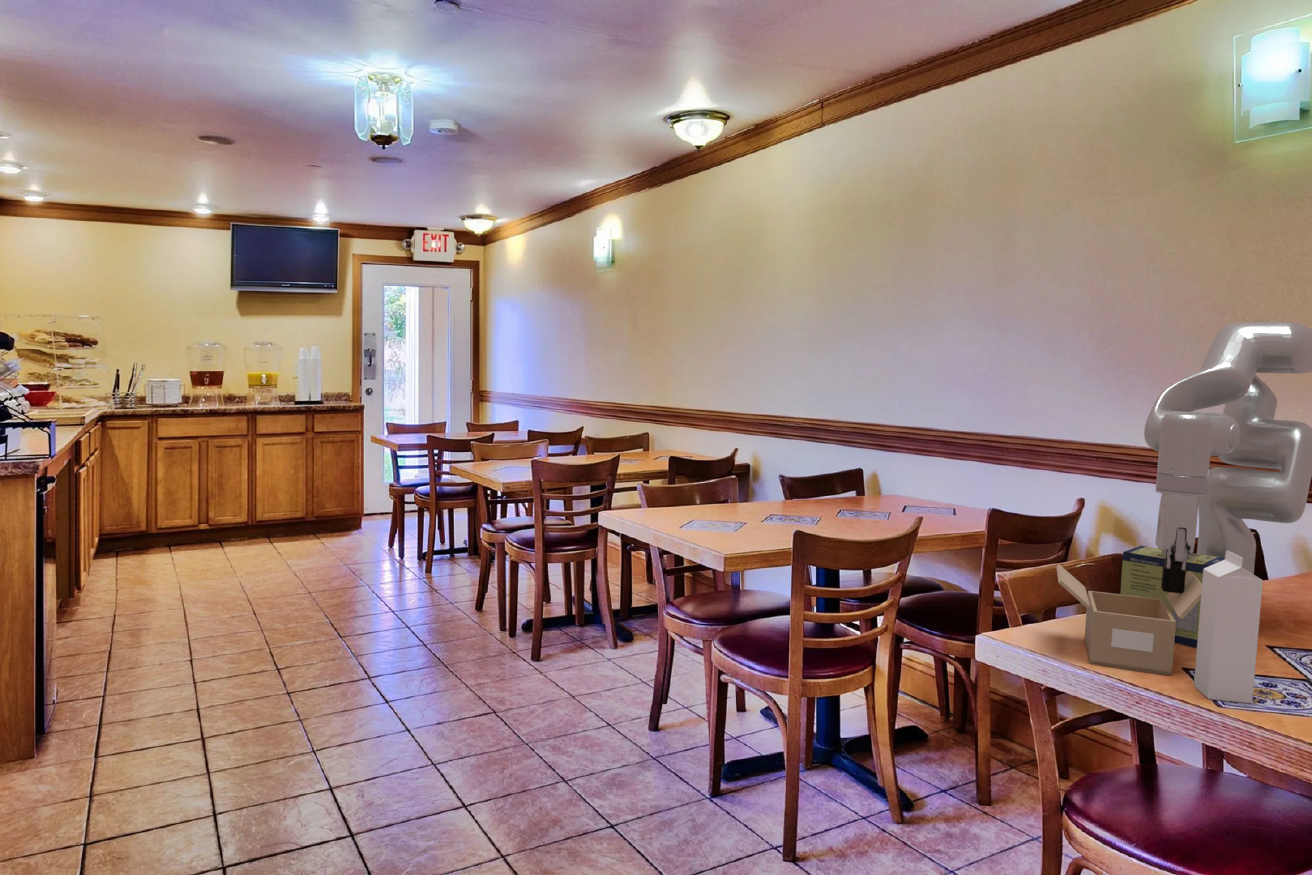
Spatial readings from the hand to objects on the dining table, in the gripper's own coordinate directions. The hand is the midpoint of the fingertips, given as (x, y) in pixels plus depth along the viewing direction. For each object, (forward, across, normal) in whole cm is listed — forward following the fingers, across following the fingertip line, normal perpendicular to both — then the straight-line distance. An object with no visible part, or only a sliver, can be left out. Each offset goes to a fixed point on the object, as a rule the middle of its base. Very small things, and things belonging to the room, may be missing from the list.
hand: (1172, 591), depth 149 cm
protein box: (+12, -18, +2) cm, 21 cm away
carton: (+12, +2, -6) cm, 14 cm away
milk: (+12, +15, +6) cm, 21 cm away
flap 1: (+3, +2, -13) cm, 13 cm away
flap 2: (+3, +2, 0) cm, 3 cm away
